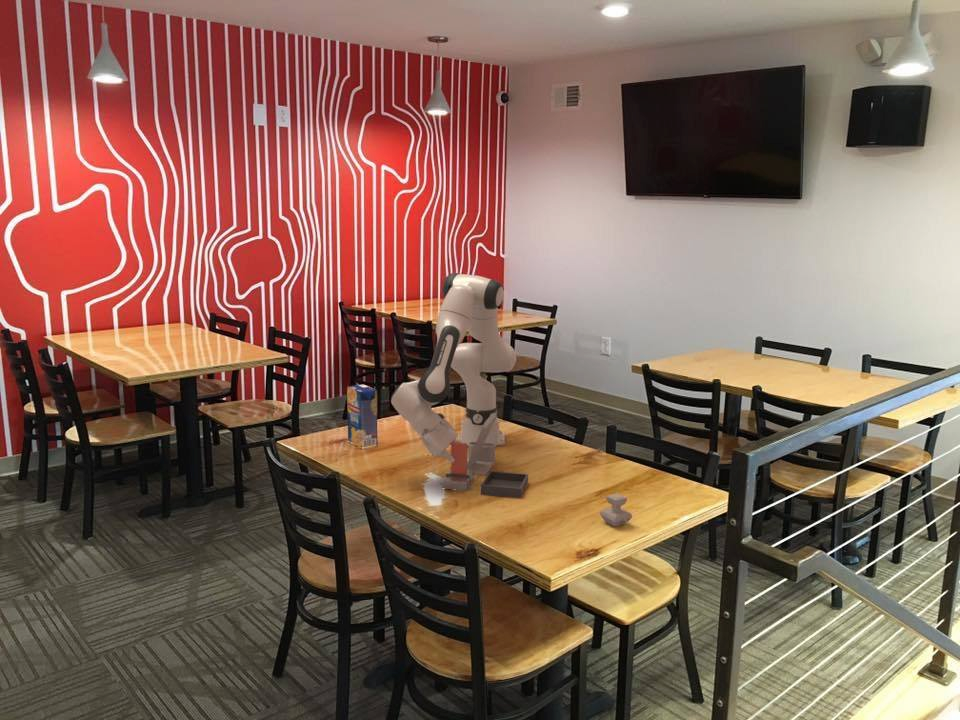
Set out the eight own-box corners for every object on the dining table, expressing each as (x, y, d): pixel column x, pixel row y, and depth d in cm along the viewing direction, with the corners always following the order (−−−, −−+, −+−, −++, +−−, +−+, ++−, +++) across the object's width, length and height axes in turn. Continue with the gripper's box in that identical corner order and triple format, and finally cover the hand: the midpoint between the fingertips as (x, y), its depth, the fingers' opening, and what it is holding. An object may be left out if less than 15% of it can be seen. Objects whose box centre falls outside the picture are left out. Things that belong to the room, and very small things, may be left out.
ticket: (452, 482, 256) (452, 441, 254) (466, 483, 255) (467, 443, 252) (450, 483, 255) (451, 443, 252) (465, 485, 254) (466, 444, 251)
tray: (489, 479, 259) (489, 470, 259) (528, 483, 257) (528, 474, 256) (480, 494, 246) (480, 485, 245) (520, 498, 243) (521, 488, 243)
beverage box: (363, 439, 302) (363, 384, 298) (377, 446, 293) (377, 389, 289) (348, 442, 298) (347, 386, 294) (361, 449, 289) (360, 392, 285)
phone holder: (469, 457, 282) (470, 409, 278) (496, 460, 280) (497, 411, 276) (457, 473, 265) (457, 422, 262) (486, 475, 263) (487, 424, 260)
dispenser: (451, 476, 262) (451, 466, 261) (474, 478, 260) (475, 468, 259) (442, 488, 250) (442, 478, 249) (466, 491, 248) (466, 480, 248)
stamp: (634, 526, 223) (636, 499, 221) (617, 531, 219) (619, 503, 218) (613, 516, 230) (614, 489, 229) (596, 520, 227) (597, 493, 225)
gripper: (426, 428, 243) (456, 460, 242) (443, 412, 262) (471, 442, 262) (412, 440, 244) (442, 473, 244) (430, 423, 264) (458, 453, 264)
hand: (457, 456), depth 253 cm, fingers open, 8 cm apart
